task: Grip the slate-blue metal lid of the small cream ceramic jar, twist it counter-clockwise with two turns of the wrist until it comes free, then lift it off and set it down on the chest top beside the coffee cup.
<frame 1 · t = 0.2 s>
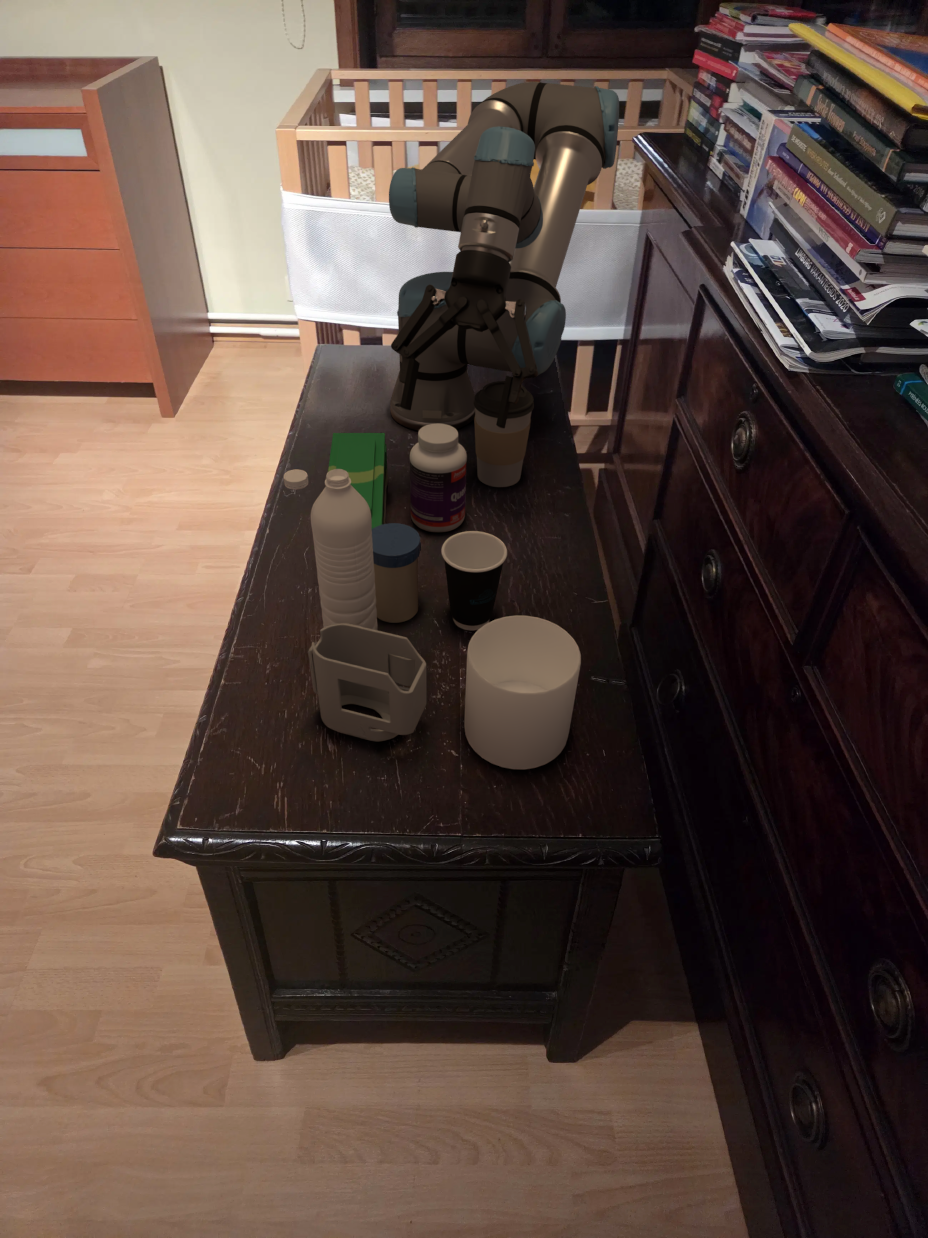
hand: (452, 417, 113), 16 cm above the table, tool tilted 35°, fingers open, 13 cm apart
cable organizer: (375, 727, 93), on the table
dixie cup: (471, 619, 107), on the table
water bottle: (343, 649, 102), on the table
jar lid: (392, 541, 101), point 11 cm above the table, screwed on, not yet turned
cup: (516, 729, 93), on the table
coffee cup: (498, 476, 133), on the table
spice jar: (395, 607, 108), on the table
pill bottle: (437, 521, 123), on the table
toy bus: (358, 531, 120), on the table
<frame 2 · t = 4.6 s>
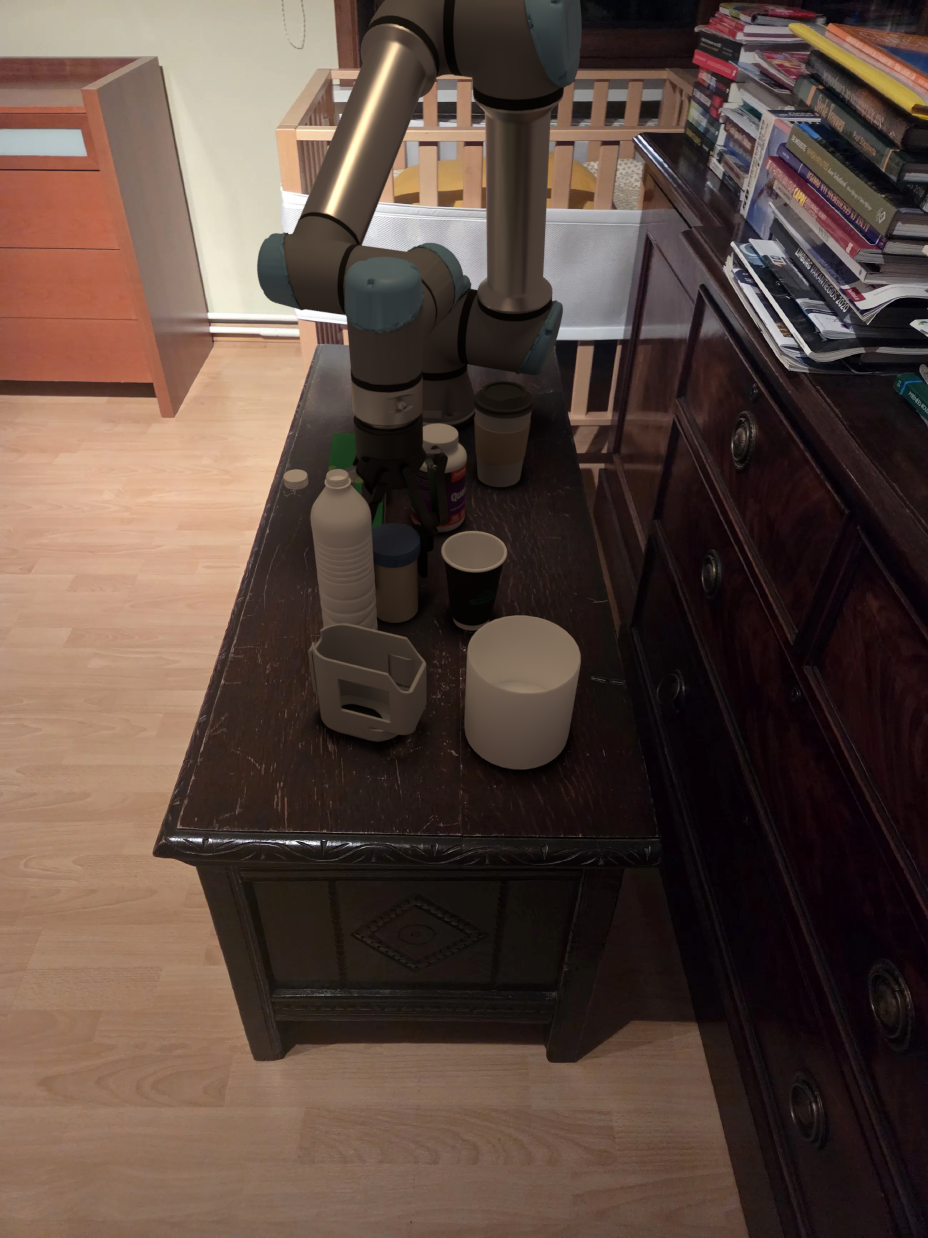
hand: (394, 578, 105), 5 cm above the table, tool pointing down, fingers closed on jar lid, 7 cm apart
jar lid: (392, 541, 101), point 11 cm above the table, screwed on, not yet turned, touching gripper
everything else where it was.
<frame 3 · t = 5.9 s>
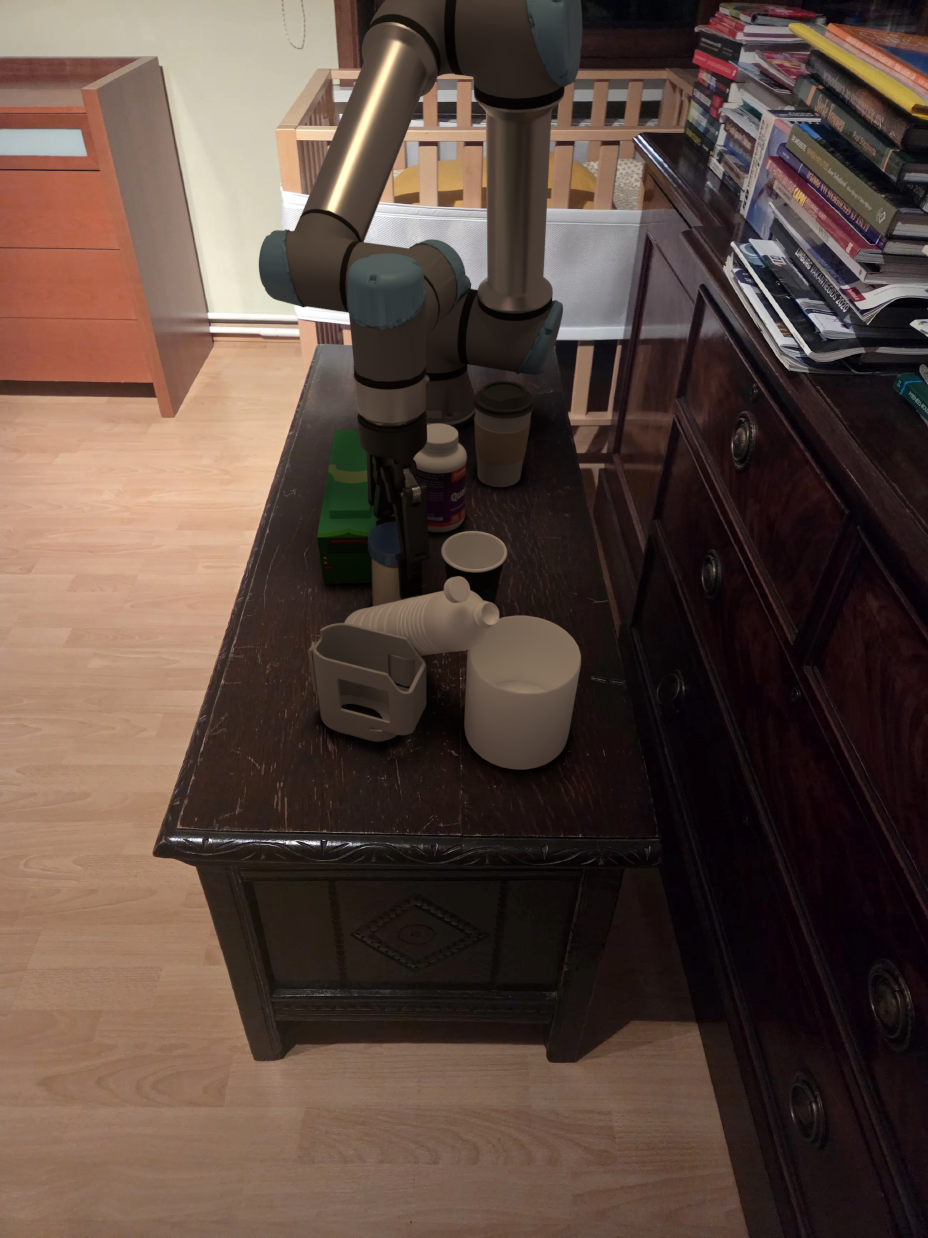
hand: (400, 577, 104), 5 cm above the table, tool pointing down, fingers closed on jar lid, 7 cm apart
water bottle: (356, 631, 100), point 3 cm above the table, touching cup
jar lid: (395, 540, 100), point 11 cm above the table, turned 85° so far, risen 0.2 cm, still on its thread, touching gripper
cup: (516, 729, 93), on the table, touching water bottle
spice jar: (395, 607, 108), on the table
toy bus: (360, 529, 120), on the table, touching gripper
everything else where it was.
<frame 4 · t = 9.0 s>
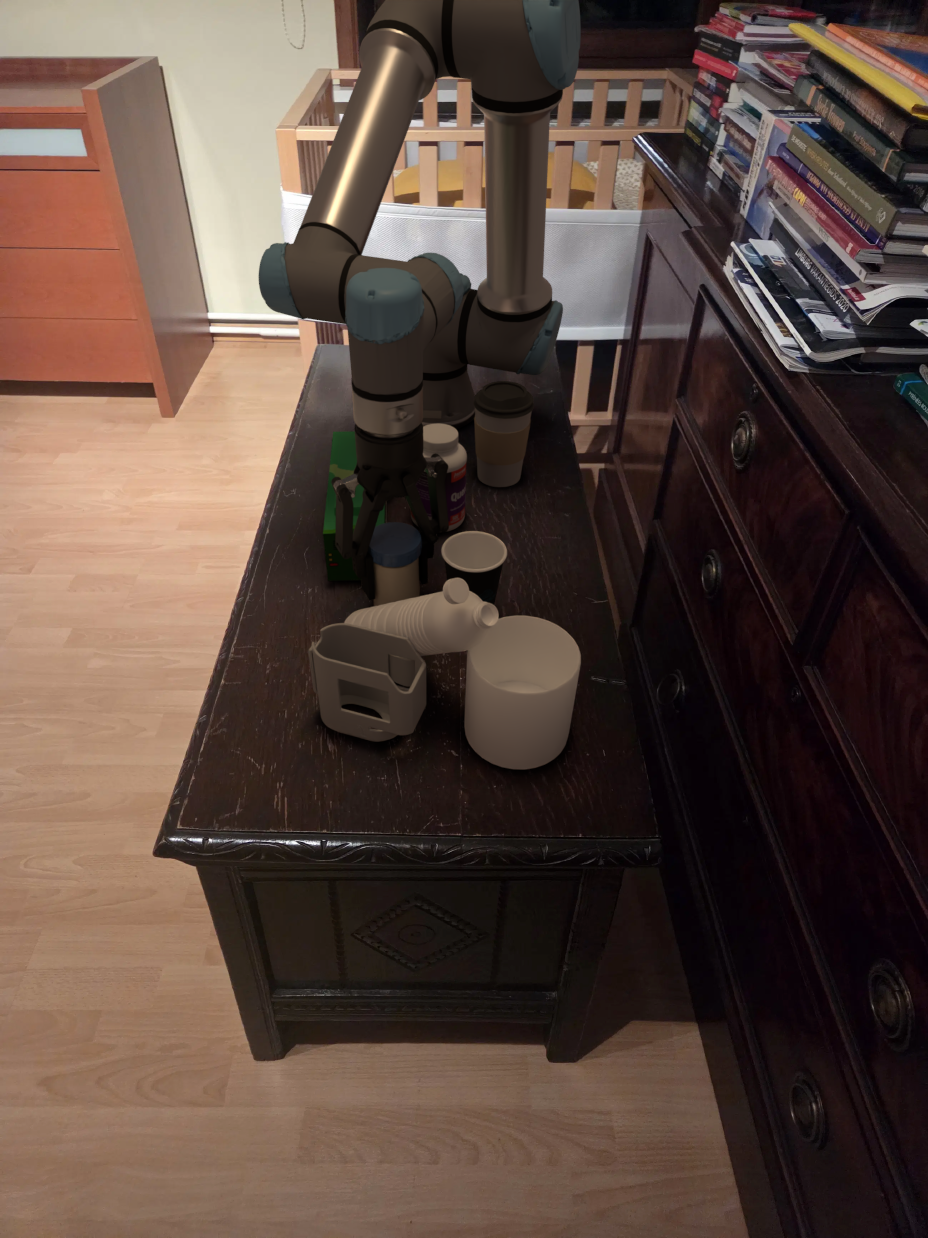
hand: (394, 585, 105), 4 cm above the table, tool pointing down, fingers closed on jar lid, 7 cm apart
cable organizer: (375, 727, 93), on the table, touching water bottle
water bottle: (356, 631, 100), point 3 cm above the table, touching cable organizer, cup
jar lid: (393, 540, 100), point 11 cm above the table, turned 85° so far, risen 0.2 cm, still on its thread, touching gripper
spice jar: (397, 608, 108), on the table
toy bus: (360, 529, 121), on the table
everything else where it was.
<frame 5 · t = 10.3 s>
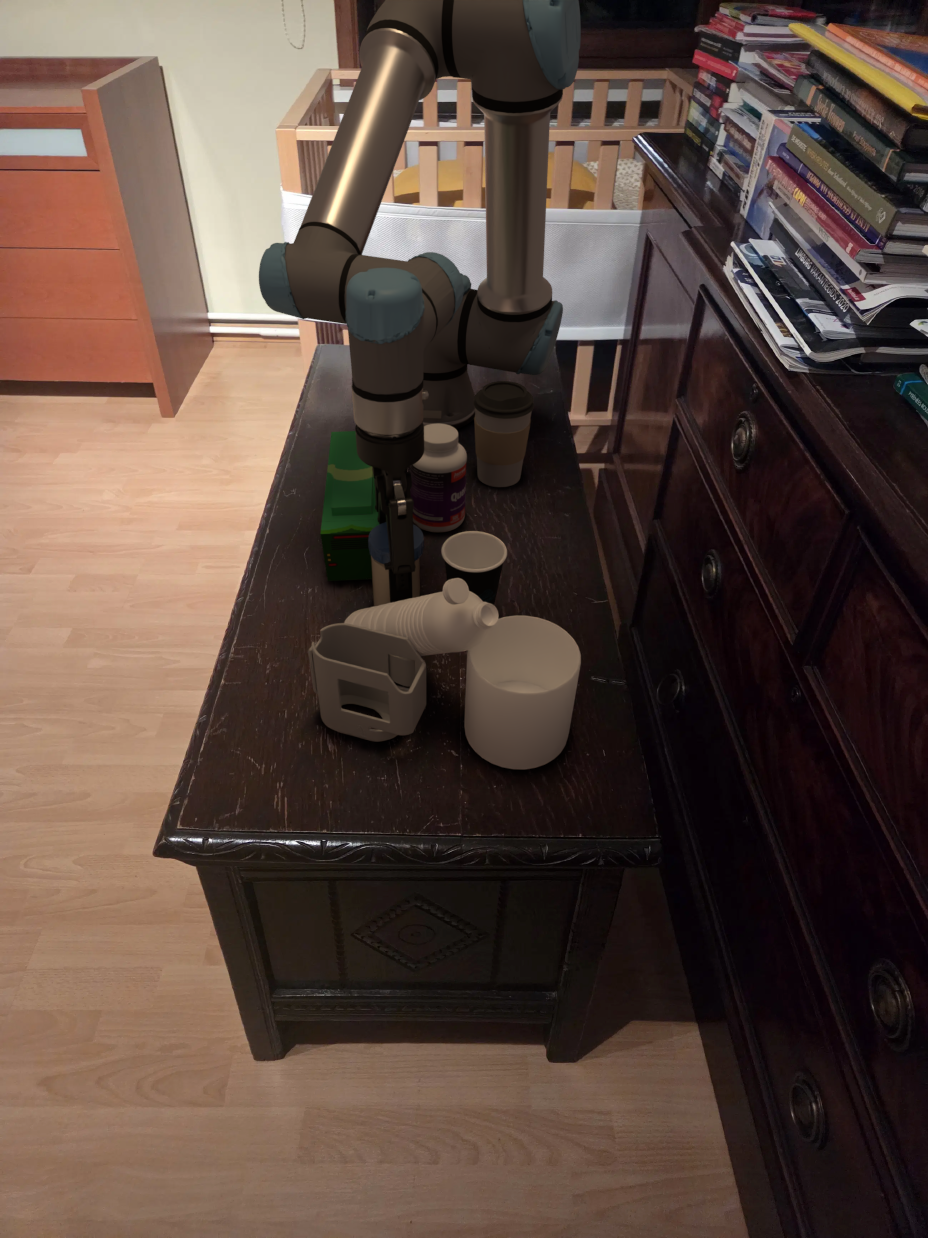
hand: (396, 585, 105), 4 cm above the table, tool pointing down, fingers closed on jar lid, 7 cm apart
cable organizer: (375, 727, 93), on the table
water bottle: (356, 631, 100), point 3 cm above the table, touching cup
jar lid: (396, 539, 101), point 11 cm above the table, off its thread, touching gripper
toy bus: (360, 529, 121), on the table, touching gripper
everything else where it was.
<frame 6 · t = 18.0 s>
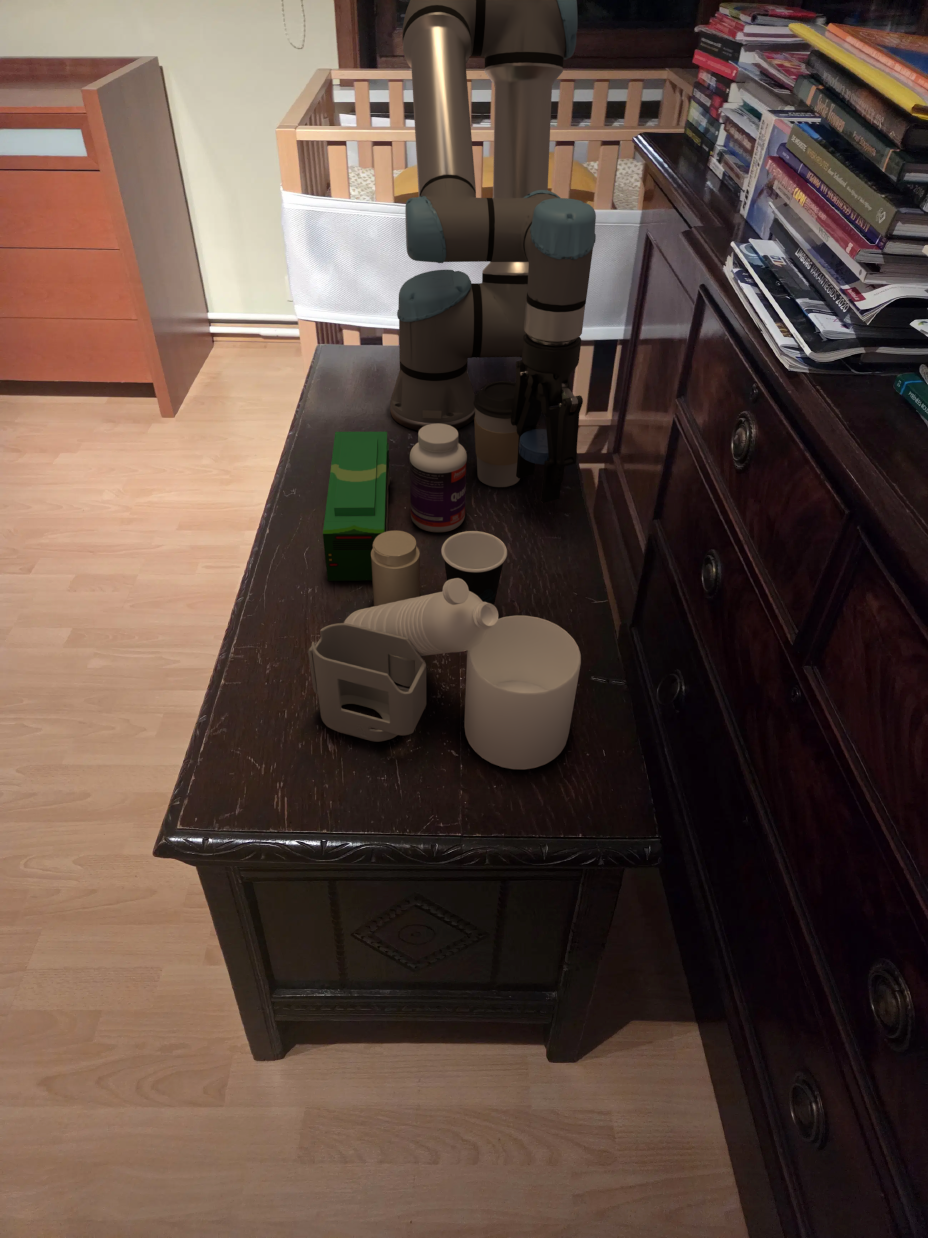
hand: (537, 487, 122), 5 cm above the table, tool pointing down, fingers closed on jar lid, 7 cm apart
cable organizer: (375, 727, 93), on the table, touching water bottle
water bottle: (356, 631, 100), point 3 cm above the table, touching cable organizer, cup
jar lid: (543, 443, 117), point 12 cm above the table, off its thread, touching gripper
coffee cup: (498, 476, 133), on the table, touching gripper, hand
toy bus: (361, 529, 121), on the table
everything else where it was.
when the fingers open (1 cm above the table, at t = 19.6 s): jar lid drops 7 cm, point 1 cm above the table.
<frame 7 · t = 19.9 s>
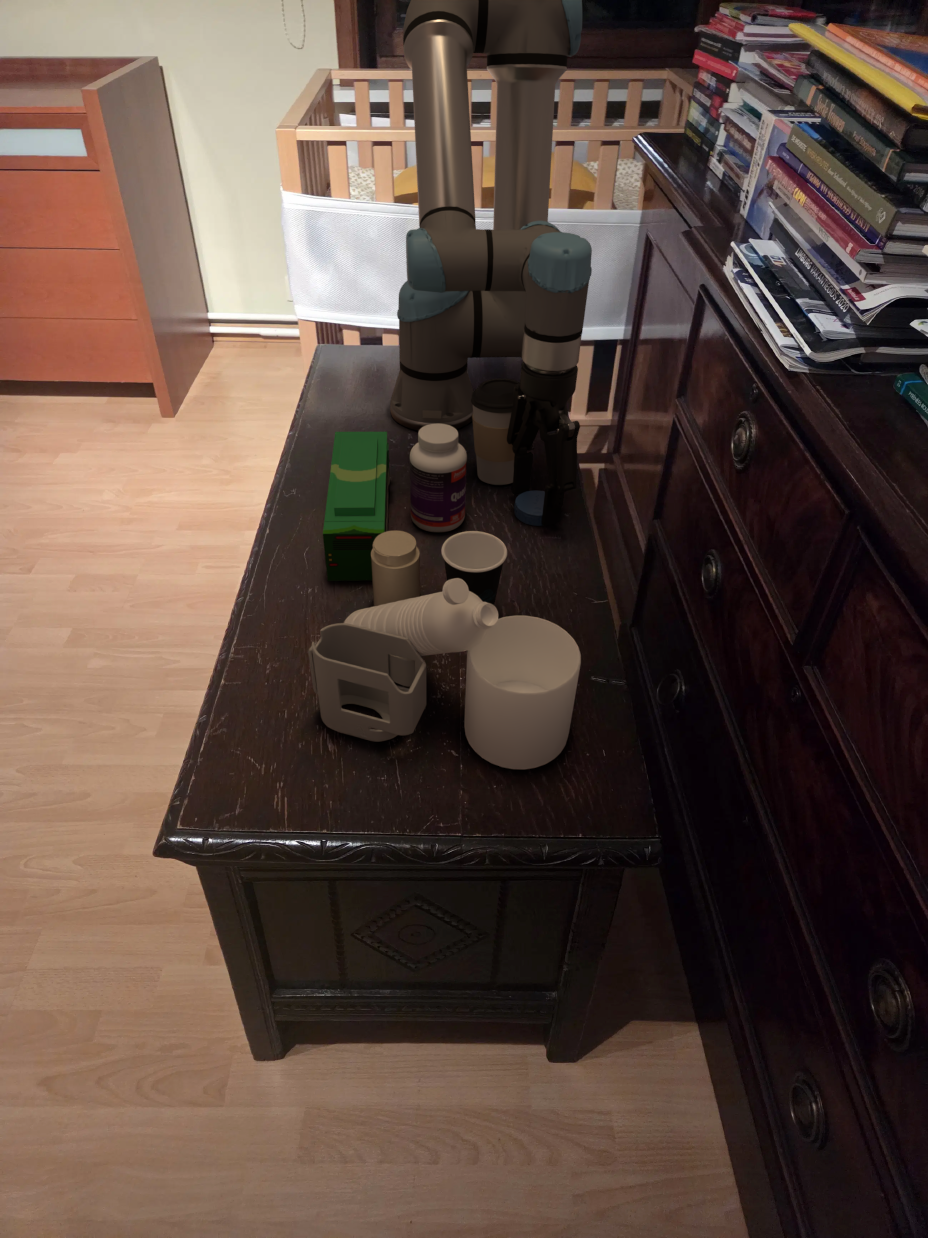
hand: (535, 506, 124), 1 cm above the table, tool pointing down, fingers open, 8 cm apart
cable organizer: (375, 727, 93), on the table
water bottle: (356, 631, 100), point 3 cm above the table, touching cup
jar lid: (537, 504, 124), point 1 cm above the table, off its thread
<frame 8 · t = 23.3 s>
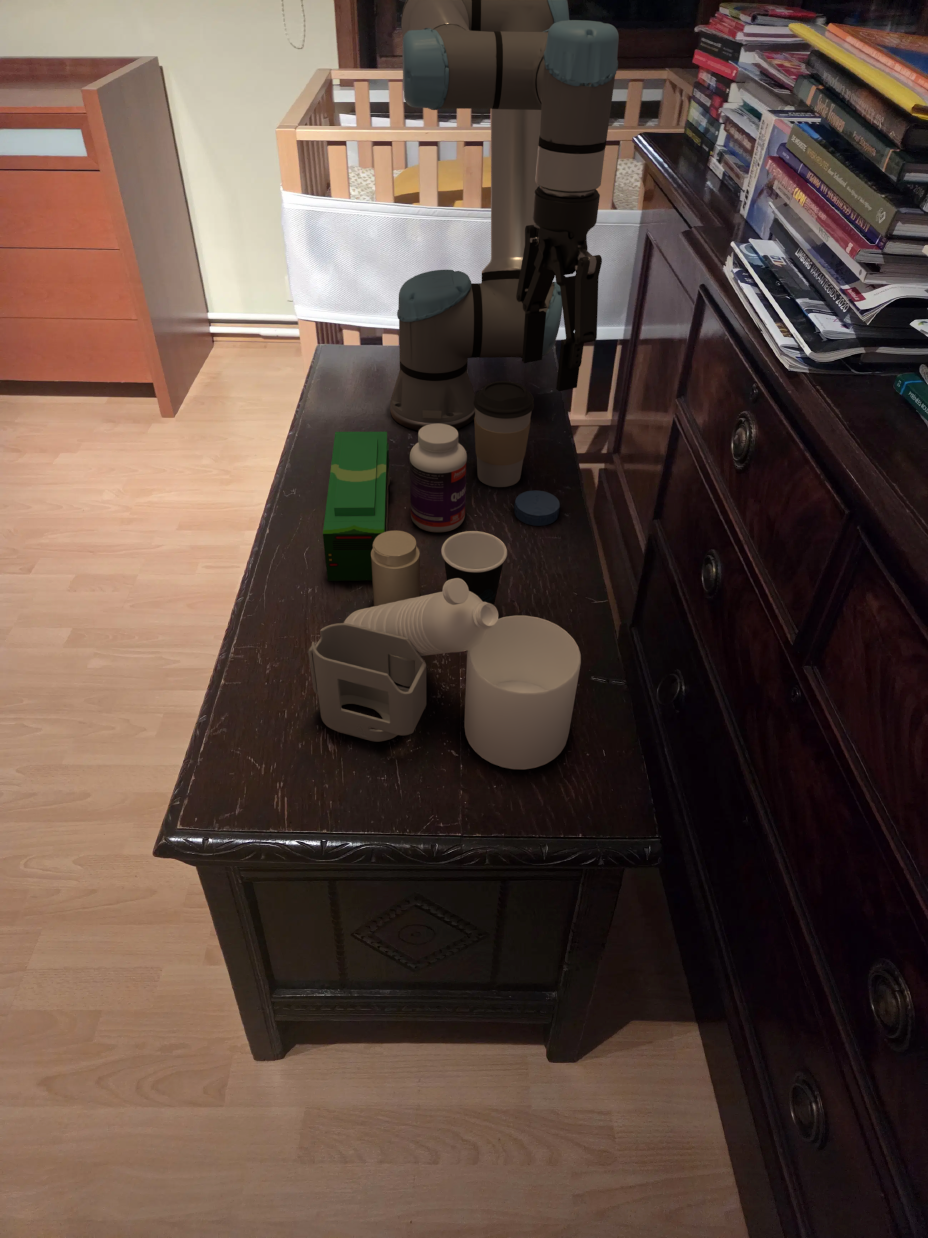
hand: (548, 373, 110), 22 cm above the table, tool pointing down, fingers open, 8 cm apart
coffee cup: (498, 476, 133), on the table
everything else where it was.
at the end: jar lid came off its thread; the gripper is holding nothing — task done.
